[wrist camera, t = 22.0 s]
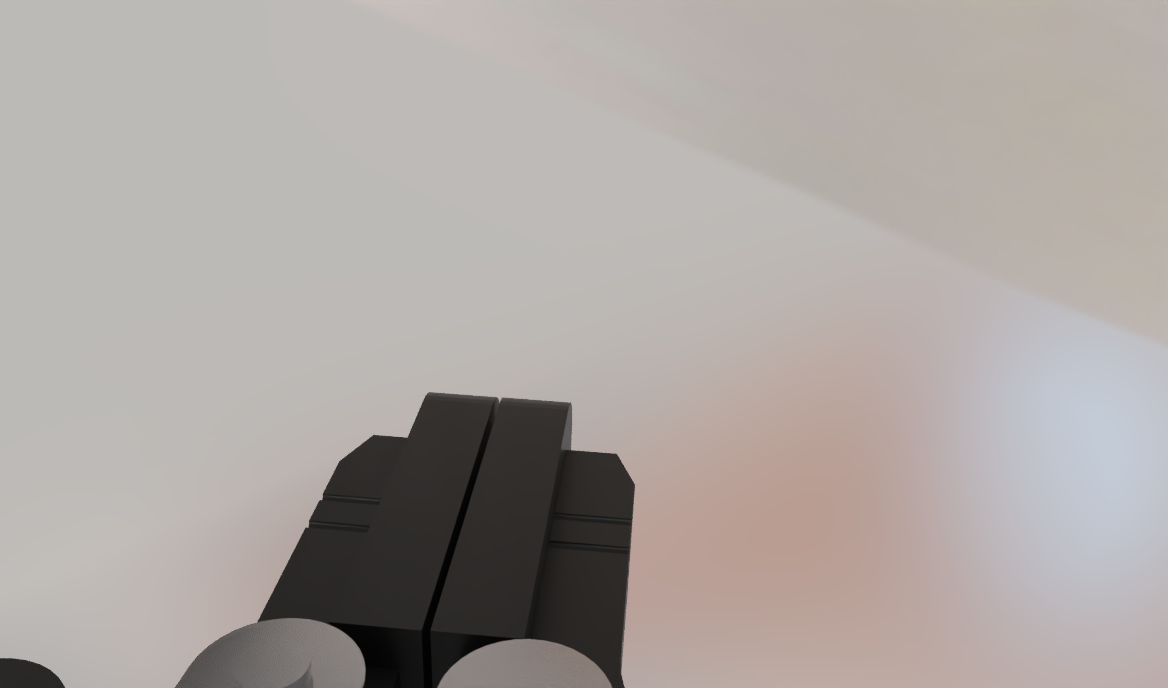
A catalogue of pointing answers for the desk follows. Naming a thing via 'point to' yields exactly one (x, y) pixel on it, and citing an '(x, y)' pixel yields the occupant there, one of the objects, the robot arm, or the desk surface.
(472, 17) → the desk surface
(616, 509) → the robot arm
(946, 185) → the desk surface
